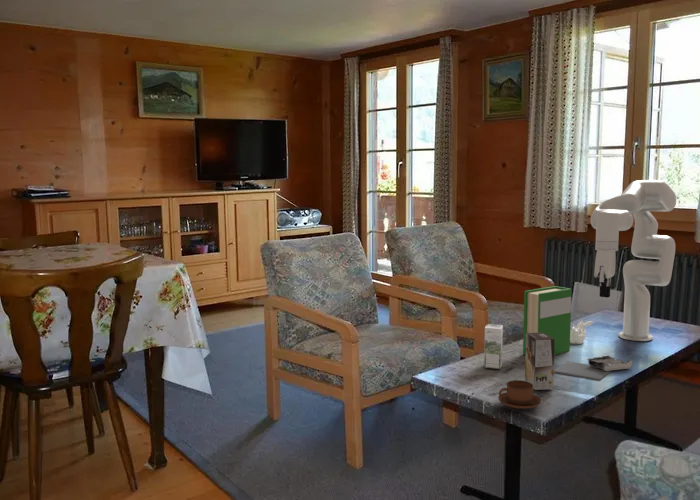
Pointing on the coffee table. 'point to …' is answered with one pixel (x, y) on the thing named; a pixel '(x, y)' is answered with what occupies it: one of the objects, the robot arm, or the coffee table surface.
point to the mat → (581, 371)
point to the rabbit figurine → (579, 332)
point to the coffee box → (539, 360)
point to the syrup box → (493, 346)
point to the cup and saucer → (519, 395)
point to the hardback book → (548, 315)
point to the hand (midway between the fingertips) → (604, 296)
